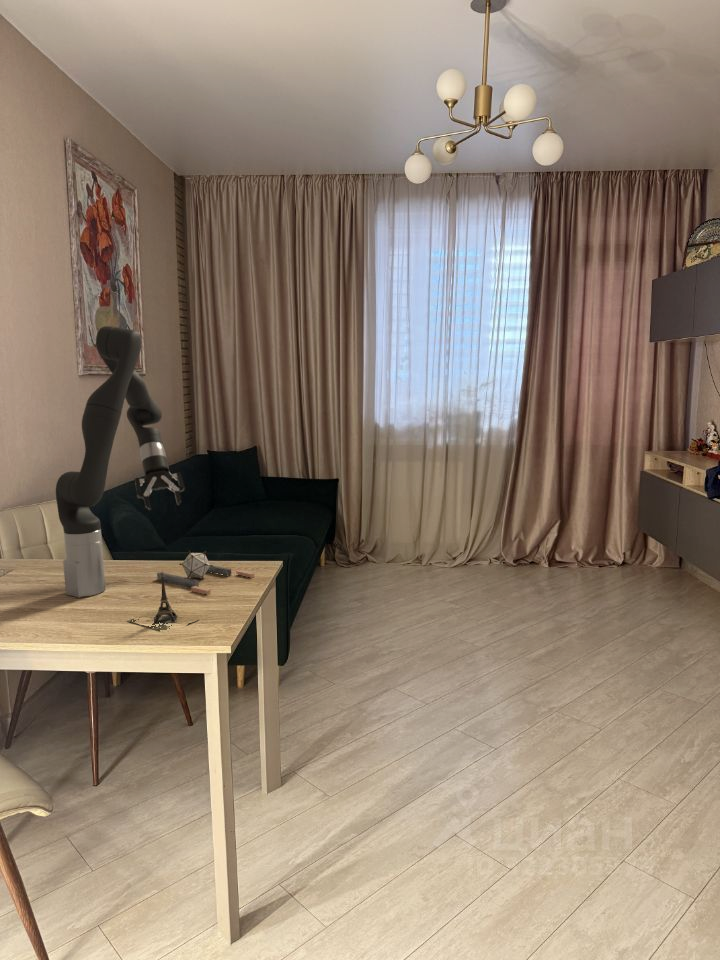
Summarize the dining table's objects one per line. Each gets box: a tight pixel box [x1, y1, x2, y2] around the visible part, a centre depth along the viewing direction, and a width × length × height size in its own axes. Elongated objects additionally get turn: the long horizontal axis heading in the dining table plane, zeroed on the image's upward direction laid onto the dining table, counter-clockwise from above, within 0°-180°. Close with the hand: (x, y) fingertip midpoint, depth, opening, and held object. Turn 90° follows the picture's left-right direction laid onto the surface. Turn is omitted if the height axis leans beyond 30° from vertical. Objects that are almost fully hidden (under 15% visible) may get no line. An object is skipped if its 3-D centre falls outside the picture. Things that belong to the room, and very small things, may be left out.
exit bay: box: [190, 569, 255, 595], centre depth 177 cm, size 18×6×1 cm, turn 147°
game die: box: [178, 550, 214, 580], centre depth 183 cm, size 9×8×10 cm
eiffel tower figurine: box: [127, 571, 179, 632], centre depth 149 cm, size 15×10×13 cm
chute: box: [156, 565, 232, 588], centre depth 184 cm, size 14×16×2 cm
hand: (164, 506), depth 193 cm, fingers open, 8 cm apart
